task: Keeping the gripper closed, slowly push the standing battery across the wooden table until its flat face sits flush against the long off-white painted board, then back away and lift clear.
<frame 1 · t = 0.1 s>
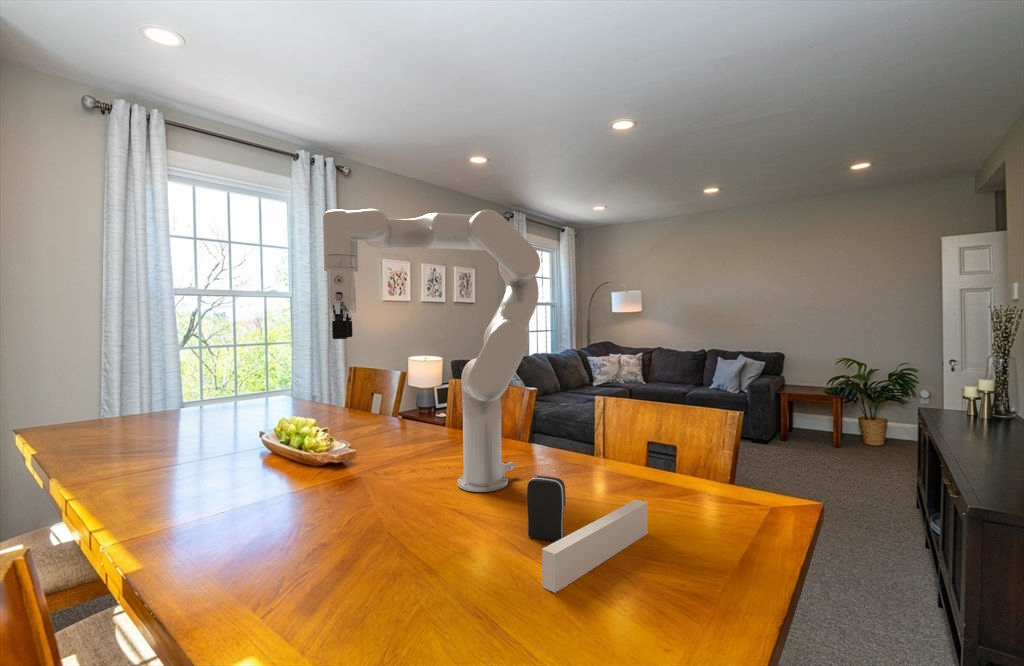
hand: (342, 338, 117), 37 cm above the table, tool pointing down, fingers open, 9 cm apart
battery: (547, 538, 95), on the table
board: (600, 557, 86), on the table
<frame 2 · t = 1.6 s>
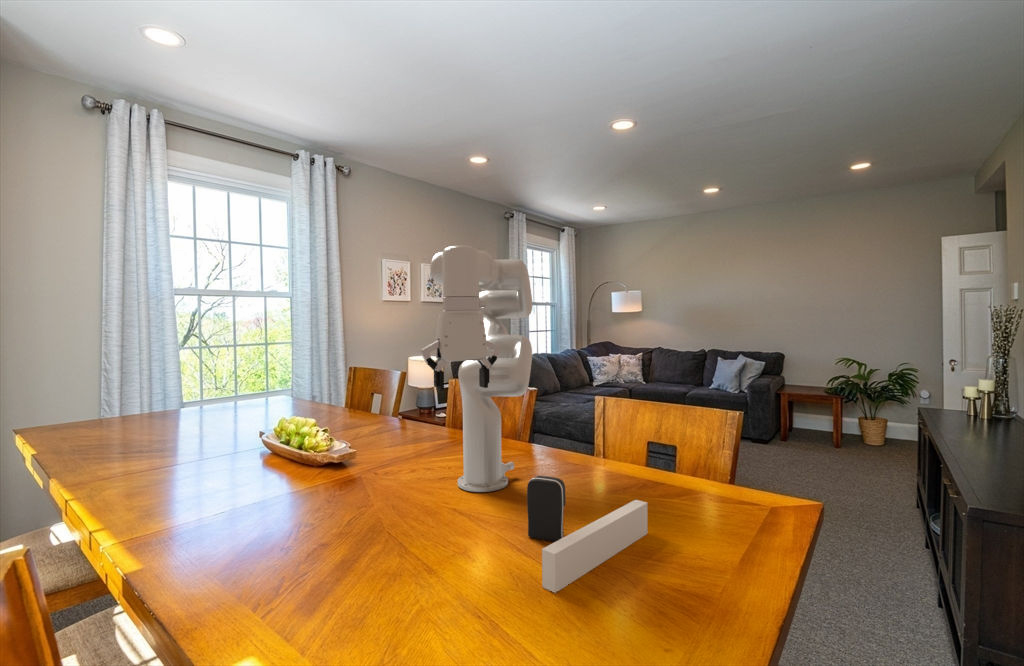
hand: (462, 388, 104), 27 cm above the table, tool pointing down, fingers open, 9 cm apart
nothing on the table moved.
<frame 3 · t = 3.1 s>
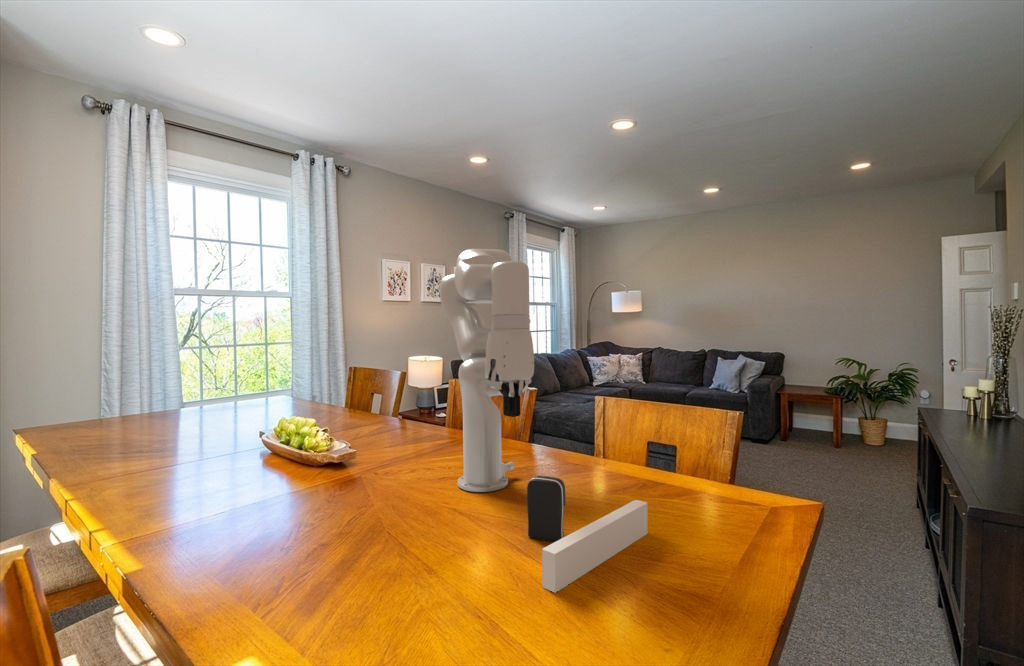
hand: (511, 415, 100), 22 cm above the table, tool pointing down, fingers closed
nothing on the table moved.
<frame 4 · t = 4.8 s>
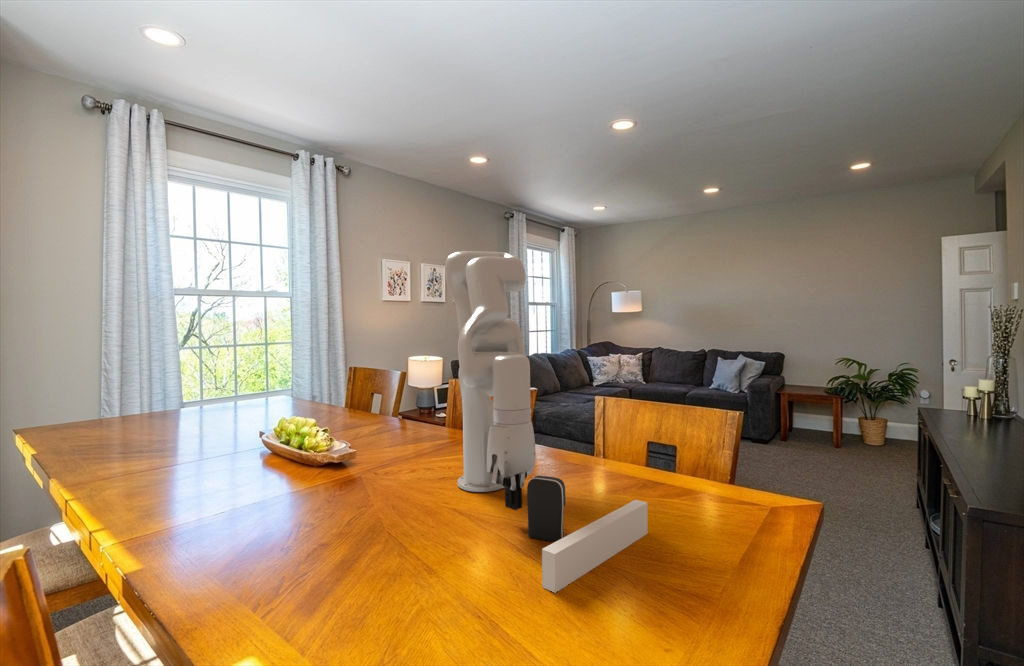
hand: (513, 507, 100), 4 cm above the table, tool pointing down, fingers closed
nothing on the table moved.
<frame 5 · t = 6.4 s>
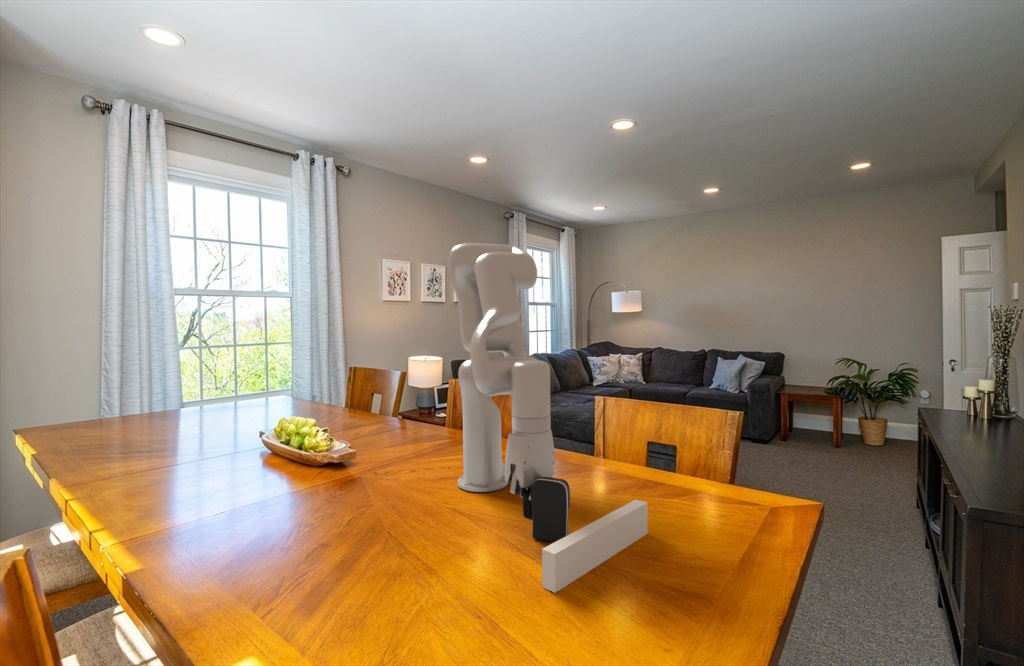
hand: (531, 517, 97), 3 cm above the table, tool pointing down, fingers closed
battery: (551, 539, 94), on the table, touching gripper
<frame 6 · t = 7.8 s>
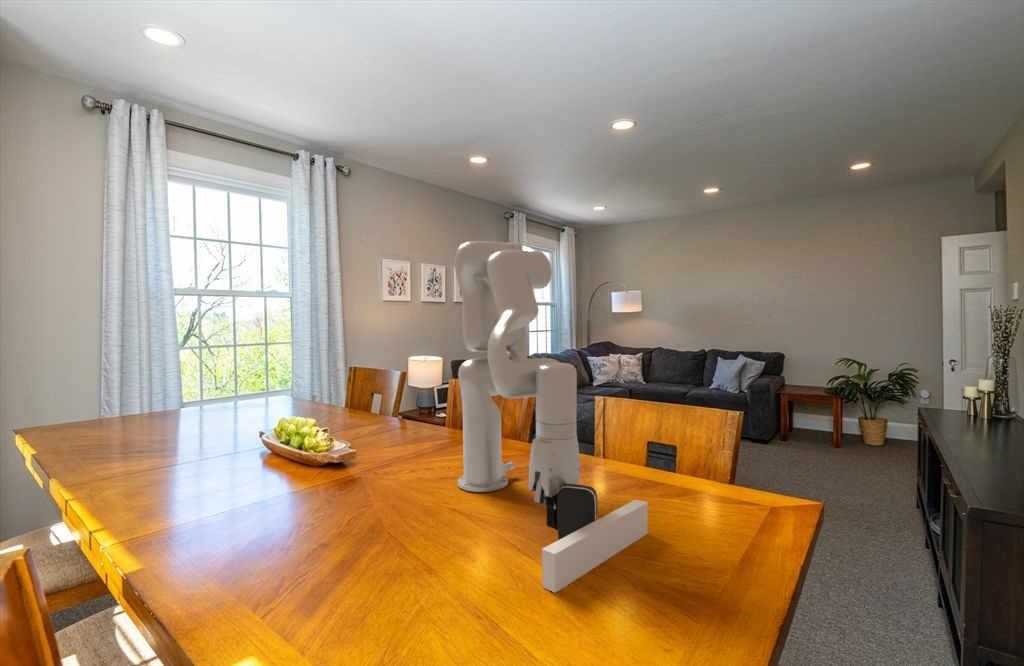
hand: (555, 526, 93), 3 cm above the table, tool pointing down, fingers closed
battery: (578, 549, 90), on the table, touching board, gripper
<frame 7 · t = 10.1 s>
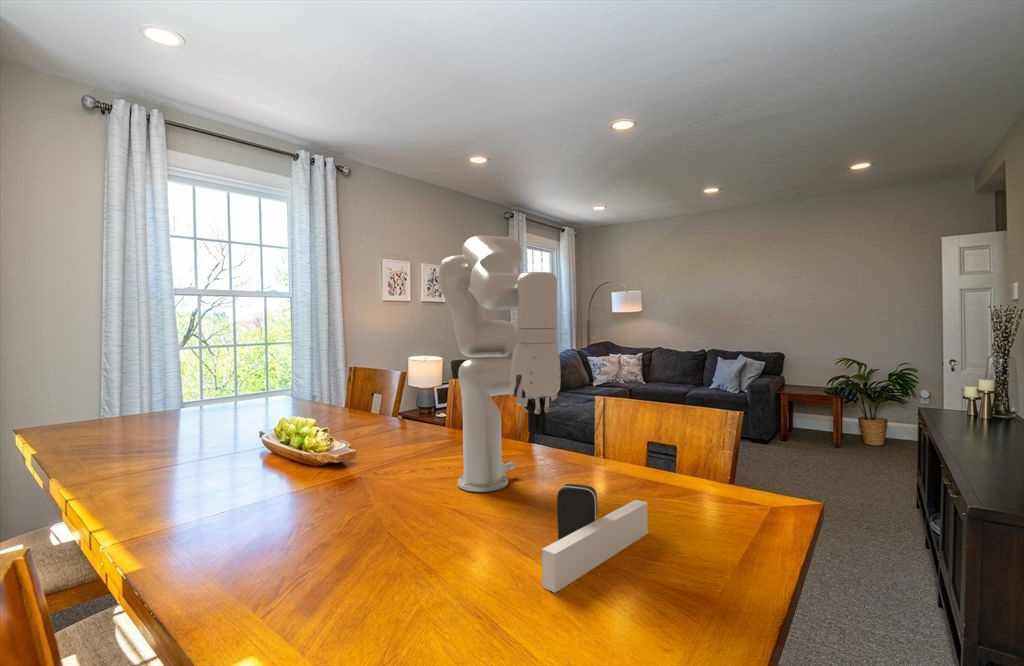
hand: (537, 432, 96), 19 cm above the table, tool pointing down, fingers closed
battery: (578, 549, 90), on the table
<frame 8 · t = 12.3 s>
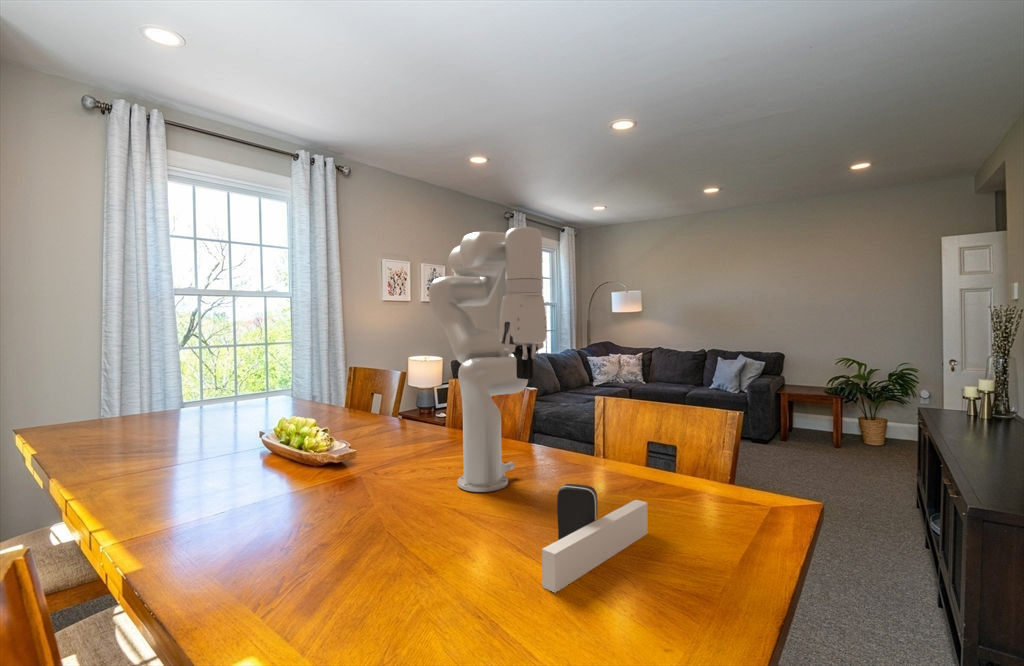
hand: (524, 378, 103), 29 cm above the table, tool pointing down, fingers closed
nothing on the table moved.
at the end: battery 0.3 cm from the target spot on the table beside the board, on the table; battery tilted 0° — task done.
